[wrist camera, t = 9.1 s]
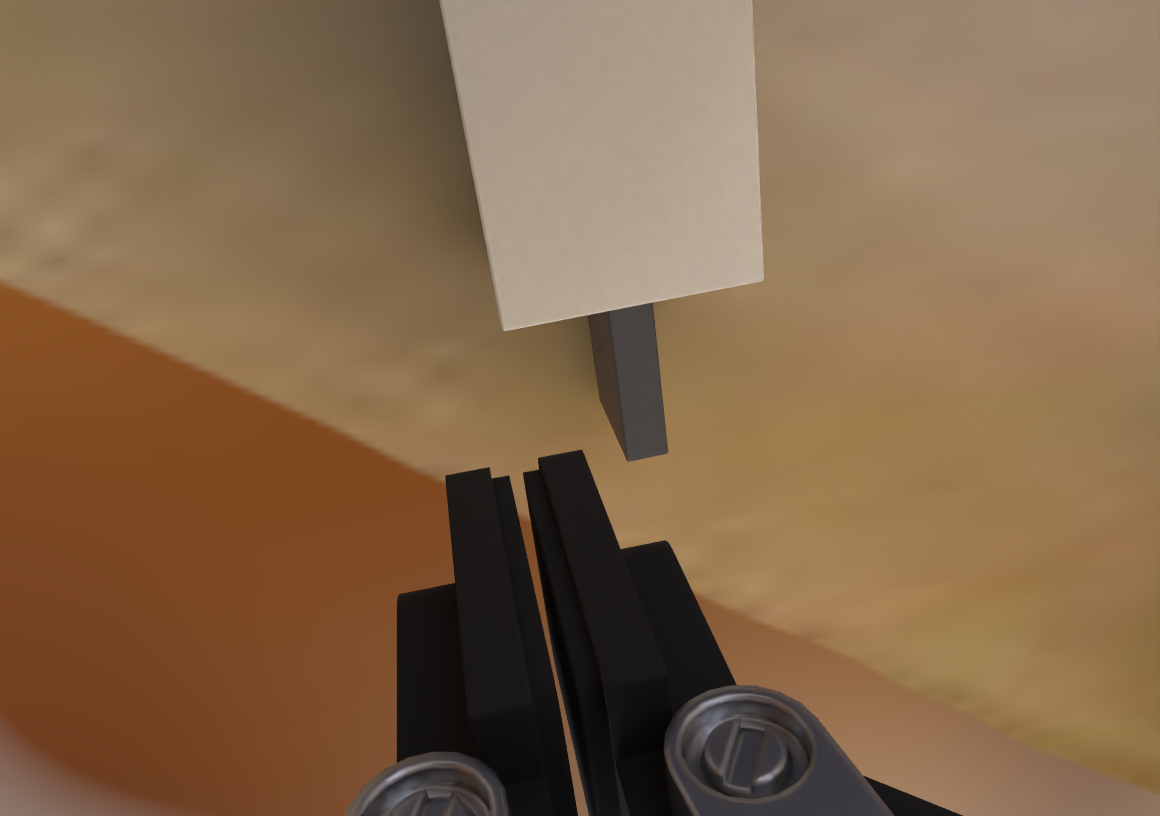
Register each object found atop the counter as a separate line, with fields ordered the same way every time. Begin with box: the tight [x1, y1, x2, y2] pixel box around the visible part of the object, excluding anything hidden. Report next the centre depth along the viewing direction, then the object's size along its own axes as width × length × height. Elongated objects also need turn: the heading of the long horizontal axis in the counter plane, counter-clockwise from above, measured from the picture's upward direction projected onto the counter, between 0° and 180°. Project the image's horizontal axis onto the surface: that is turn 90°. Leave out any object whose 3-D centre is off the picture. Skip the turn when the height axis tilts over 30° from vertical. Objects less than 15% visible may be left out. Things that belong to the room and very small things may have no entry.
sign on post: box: [439, 0, 764, 462], centre depth 24 cm, size 13×7×5 cm, turn 8°
